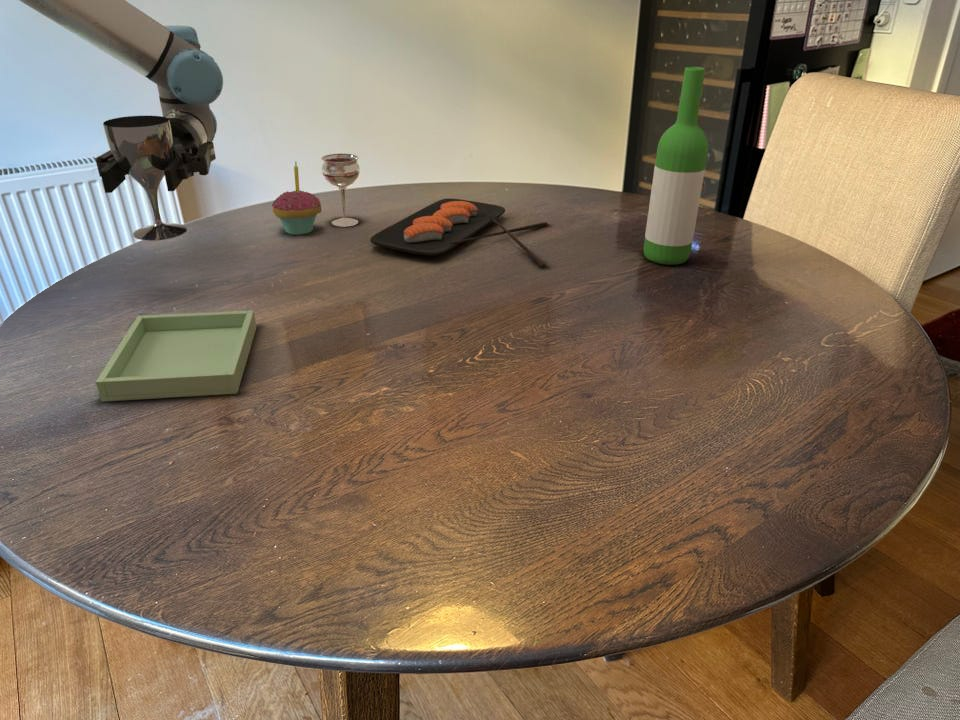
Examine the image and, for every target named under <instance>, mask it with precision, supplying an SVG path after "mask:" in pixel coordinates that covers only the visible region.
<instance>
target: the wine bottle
mask: <svg viewBox="0 0 960 720" xmlns="http://www.w3.org/2000/svg"><path fill="white" fill-rule="evenodd" d="M705 75H706V68H704V67H701V66H686V67H685V68H684V71H683V78H682V84H681V91H680V98H679V104H678V110H677V117H676V120H675V123H674V124H673V125H671V126H670V127H669V128H667V129H666V130H665V131H664V132H663V133H662V135H661V137H660V139H659V141H658V144H657V148H656V156H655V163H654V169H653V175H652V182H651V190H650V198H649V203H648V213H647V219H646V227H645V231H644V232H645V234H644V241H643V255H644V257H645V258H646V260H649V261H650V262H651V263H655V264H657V265H658V264H659V265H664V266H676V265H677V266H678V265H681V264H684V263H686V262H687V261H688V260H689V258H690V257H691V253H692V252H691V251H692V248H693V247H692V246H693V241H694V237H695V236H694V235H695V230H696V225H697V224H696V223H697V219H698V212H699V207H700V201H701V195H702V189H703V183H704V178H705V172H706V164H707V161H708V160H707V159H708V155H709V154H708V153H709V142H708V139H707V136H706V134H705V132H704V130H703V129H702V128H701V127H700V126H699V124H698V118H699V111H700V105H701V98H702V93H703V87H704V80H705Z"/></svg>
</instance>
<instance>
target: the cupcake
mask: <svg viewBox="0 0 960 720" xmlns="http://www.w3.org/2000/svg"><path fill="white" fill-rule="evenodd" d="M294 164H295V165H294V166H293V172H294V185H295V190H293V191H284V192H283V193H282V194H280V195H278V197H276V198H275V200H273V202H272V205H271V206H272V213H273V214H274V216H275V217H277V218H278V219H279V220H280V222H281V224H282V226H283V228H284V230H285V232H286V233H287V234H289V235H296V236H297V235H298V236H299V235H306V234H309V233H311V232H312V231H313V230H314V225H315V220H316V217H317V215H318V214H320V213H321V212H322V204H321V201H320V199H319V198H318V197H317V196H316V195H315V194H313V193H310V192H308V191H304V190H300V178H299V166H297V165H298V164H297V161H295V162H294Z"/></svg>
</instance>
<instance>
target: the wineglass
mask: <svg viewBox="0 0 960 720" xmlns="http://www.w3.org/2000/svg"><path fill="white" fill-rule="evenodd" d="M320 160H321V161H322V166H321V173H322V176H323V178H324V179H325V180H326V181H327V182H328V183H329V184H330V185H332V186H335V187H337V189H339V191H340V199H341V207H342V214H343V217H340V218H337V219H334V220H332V221H331V225H333V226H336V227H341V228H342V227H343V228H344V227H353V226H355V225H357V224H358V223H359V220H358V219H356V218H353V217H352V218H351V217H347V215H346V189H347V188H348V187H349V186H350V185H352V184H354V183H355V181H356V180H357V179H358V178H359V176H360V170H361V169H360V165H359V163H358V161H359V156H358V155H356V154H353V153H341V152H340V153H331V154H325V155H323V156H322V157H321V158H320Z"/></svg>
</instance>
